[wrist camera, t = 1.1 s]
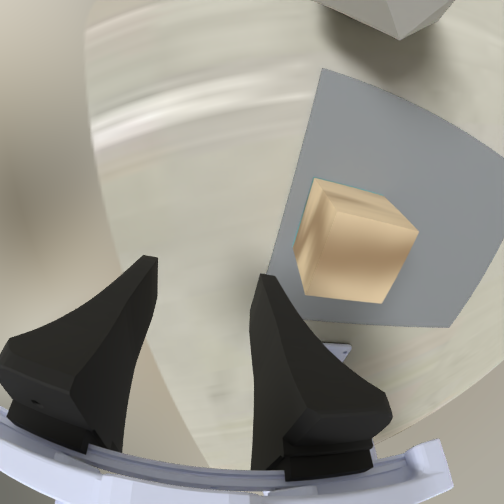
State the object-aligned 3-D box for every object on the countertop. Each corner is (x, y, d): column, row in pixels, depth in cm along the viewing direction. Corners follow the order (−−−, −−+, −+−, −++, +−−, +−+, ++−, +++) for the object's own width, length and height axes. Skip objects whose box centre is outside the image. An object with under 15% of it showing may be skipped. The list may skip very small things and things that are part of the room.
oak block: (357, 257, 22) (381, 303, 18) (292, 246, 22) (305, 295, 17) (382, 195, 19) (419, 231, 15) (313, 176, 19) (337, 211, 14)
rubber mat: (448, 326, 29) (449, 327, 28) (255, 312, 25) (255, 314, 25) (527, 177, 18) (528, 177, 18) (322, 68, 15) (323, 68, 15)
